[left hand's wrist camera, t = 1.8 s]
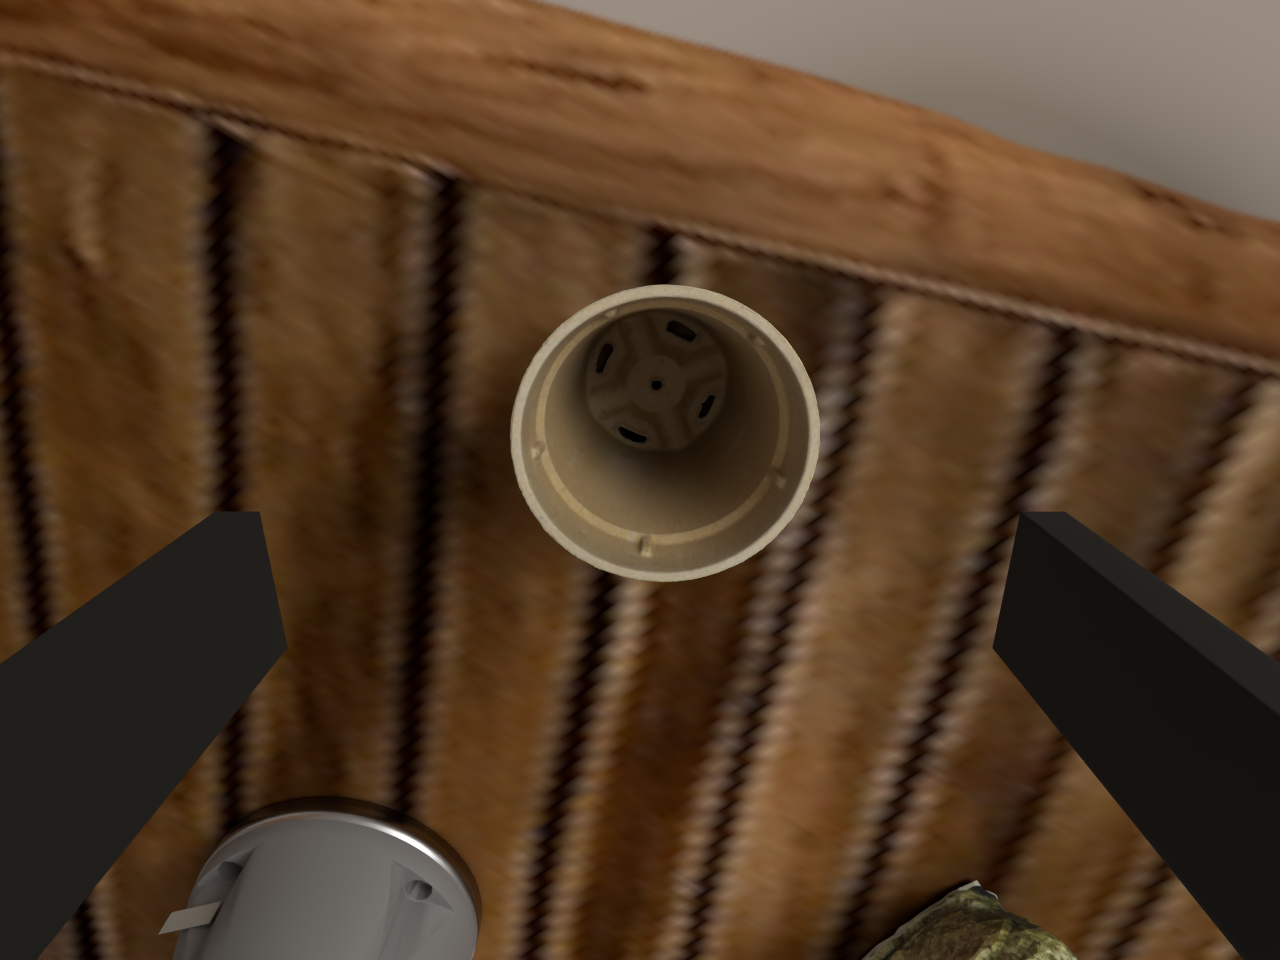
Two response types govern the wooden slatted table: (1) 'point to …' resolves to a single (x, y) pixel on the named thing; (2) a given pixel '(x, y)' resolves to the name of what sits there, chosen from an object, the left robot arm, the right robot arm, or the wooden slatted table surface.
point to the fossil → (970, 933)
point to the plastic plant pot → (665, 434)
